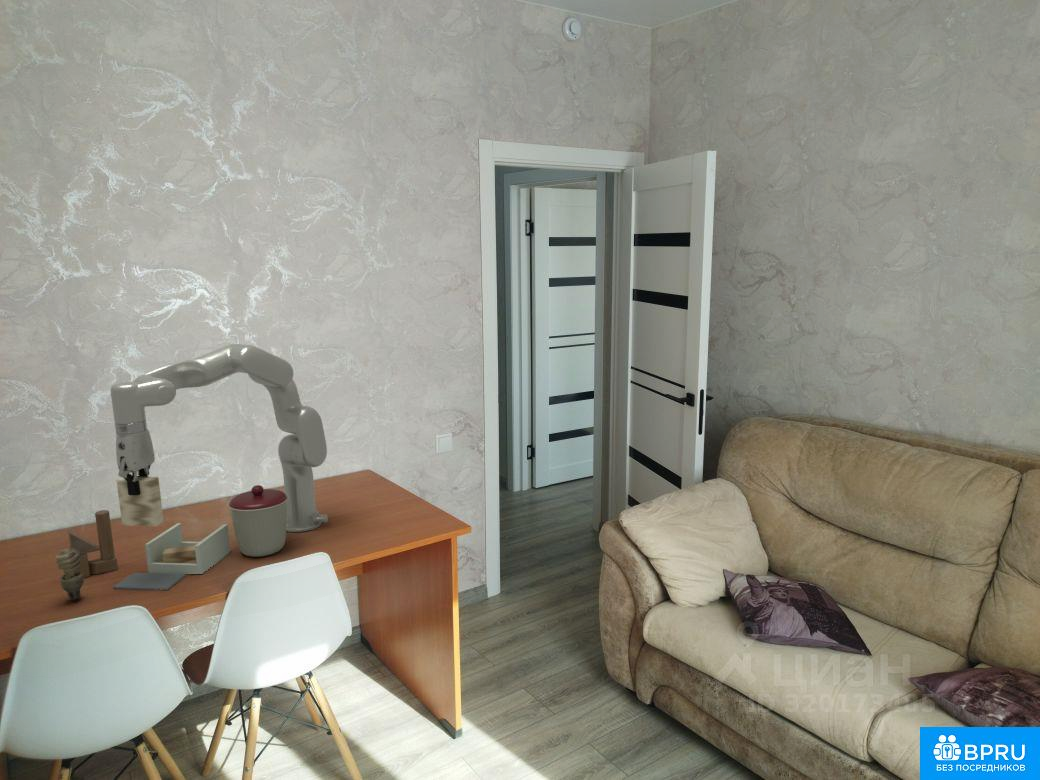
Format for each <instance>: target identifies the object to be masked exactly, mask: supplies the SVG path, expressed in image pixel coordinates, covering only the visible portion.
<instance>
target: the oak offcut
mask: <svg viewBox="0 0 1040 780" xmlns="http://www.w3.org/2000/svg"><path fill="white" fill-rule="evenodd" d="M162 556H163V563H175V562H182V561H190V560H196V553H195V545H193V546H185V547H177V548H169V549H164V552H163V554H162Z"/></svg>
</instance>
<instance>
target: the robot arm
mask: <svg viewBox="0 0 1040 780" xmlns="http://www.w3.org/2000/svg"><path fill="white" fill-rule="evenodd" d="M237 373H244V374H247V375H248V376H249V379H251V380H252V381H253V382H255V383H256V384H259V385H262V386H264V388H265V389H266V390H267V391H268V393H269V395H270V399H271V401H272V406H273V410H274V411H273V412H274V417H275V421H276V425H277V427H278V428H279V430H281V431H282V432H285V433H289V434H288V435H286V436H284V437H282V439H281V440H280V441H279V444H278V447H277V450H278V451H277V452H278V457H279V461H280V464H281V468H282V469H281V470H282V474H283V488H284V489H283V490H284V493H286V494H288V495H289V500H288V501H287V525H286V532H289V533H302V532H308V531H312V530H316V529H317V528H319V527H320V526H322V523H328V521H329V519H328V516H327V514H320V511H319V510H318V509H316V497H315V482H314V471H313V469H312V468H317V467H320V466H321V465H322V464H324V462H325V461H326V458H327V454H328V447H327V446H328V445H327V440H326V436H325V431H324V424H323V421H322V418H321V416H320V415H321V414H319V412H318V411H317V410H316V409H315V408H313V407H311V406H306V405H303V404H302V402H301V398H300V395H299V392H298V391H299V390H298V388H297V384H296V383H295V381H294V369H293V367H292V364H291V363H289V361H287V360H285V359H283V358H282V357H278V356H277V355H275V354H273V353H271V352H268V351H266V350H264V349H261V348H259V347H256V346H254V345H250V344H240V343H232V344H228V345H225V346H223V347H220V348H218V349H216V350H213V351H210V352H208V353H206V354H203V355H201V356H197V357H195V358H193V359H188V360H184V361H181V362H180V361H179V362H177V363H174V364H170V365H165V366H163V367H159V368H157V369H153V370H150V371H148V372H145V373H144V374H142V375H139V376H138V377H136V378H135V379H133V381H123V382H118V383H115V384H113V385H112V386H110V397H111V404H112V411H113V412H112V413H113V420H114V428H115V436H116V438H115V455H116V463H117V469H118V474H117V476H118V477H120V478H124V479H125V481H126V482H127V488H128V494H129V495H140V486H139V481H137V477H149V476H150V469H151V466H152V464H153V463H155V461H156V458H155V452H154V446H153V441H152V437H151V433H150V431H149V429H148V427H147V417H146V408H145V407H161V406H165V405H169V404H170V403H171V402H173V401H174V399H175V397H176V395H177V390H181V389H187V388H188V389H189V388H199V387H200V388H201V387H206V386H209V385H211V384H213V383H217V382H218V381H220V380H224V379H225V378H227V377H230V376H232V375H234V374H237ZM131 473H132V474H131Z"/></svg>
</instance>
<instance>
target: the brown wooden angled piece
mask: <svg viewBox="0 0 1040 780" xmlns="http://www.w3.org/2000/svg"><path fill="white" fill-rule="evenodd" d="M94 513H95V514H94V517H95V523H96V531H97V539H98V540H97V541H98V545H97V544H95V543H93V542H92V541H90V540H88V539H86V538H84V537H82V536H81V535H78V533H75V532H74V531H72V530H70V529H68V530H67V533H68V540H69V546H70V547H69V548H75V549H78V550H79V551H80V555H79V556H80V563H81V564H80V566H79V567H78V568H77V572H81V573H82V574H83V579H85V578H88V577H90V576H91V575H100V574H105V573H108V572H112V571H116V570H118V569H119V567H118V559H117V557H116V554H115V547H114V540H113V531H112V524H111V516H110V515H111V514H110V511H109V509H108V510H107V509H103V510H98V511H96V512H94ZM98 551H99V553H100V557H99V558H96V559H91V560H89V558H88V554H89V553H93V552H94V553H95V552H98Z"/></svg>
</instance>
